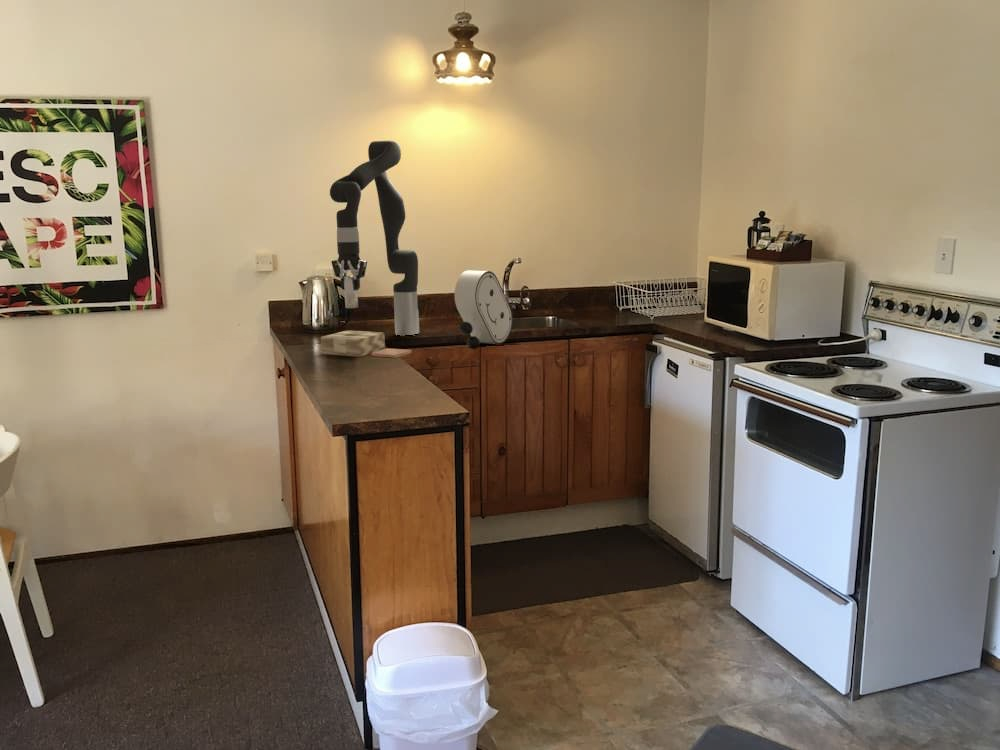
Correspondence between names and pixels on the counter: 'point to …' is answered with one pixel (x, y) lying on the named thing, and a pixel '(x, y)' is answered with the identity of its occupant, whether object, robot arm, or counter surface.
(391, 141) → the robot arm
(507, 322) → the robot
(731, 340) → the counter surface
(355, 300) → the light grey cylinder
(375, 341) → the bore block
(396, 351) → the coaster
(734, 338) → the counter surface
